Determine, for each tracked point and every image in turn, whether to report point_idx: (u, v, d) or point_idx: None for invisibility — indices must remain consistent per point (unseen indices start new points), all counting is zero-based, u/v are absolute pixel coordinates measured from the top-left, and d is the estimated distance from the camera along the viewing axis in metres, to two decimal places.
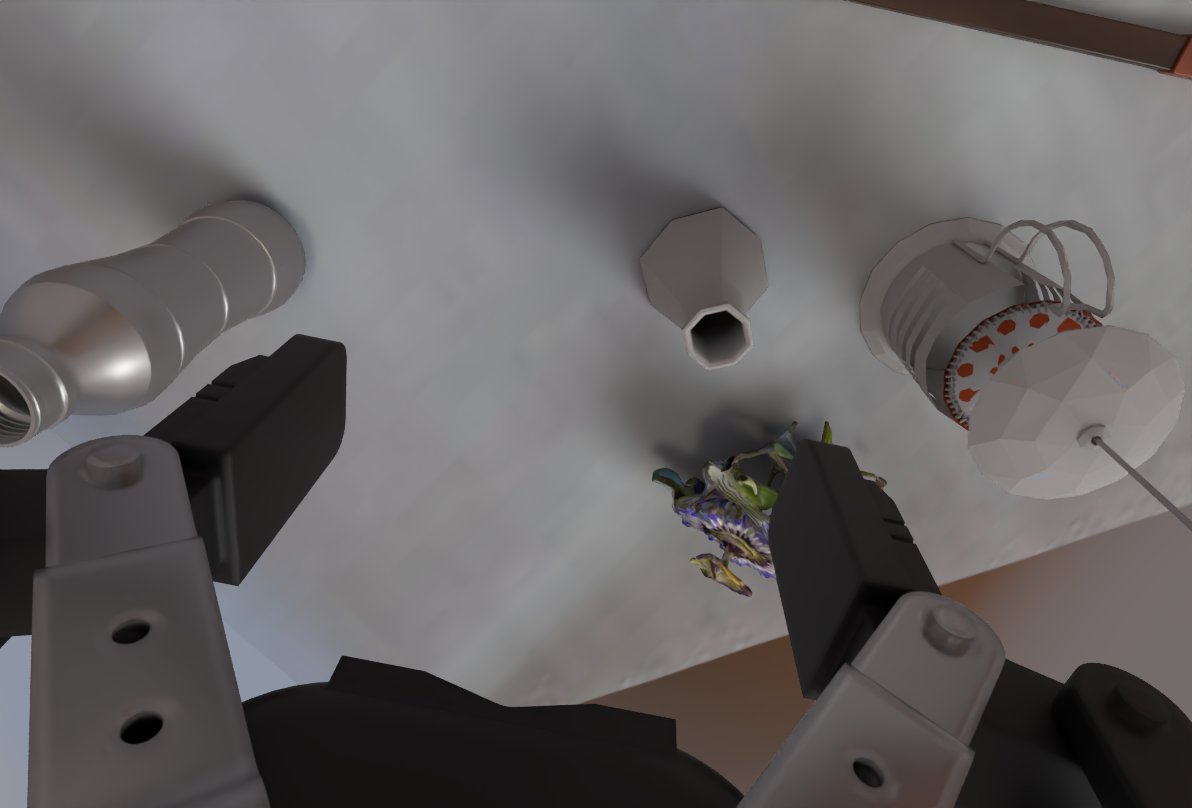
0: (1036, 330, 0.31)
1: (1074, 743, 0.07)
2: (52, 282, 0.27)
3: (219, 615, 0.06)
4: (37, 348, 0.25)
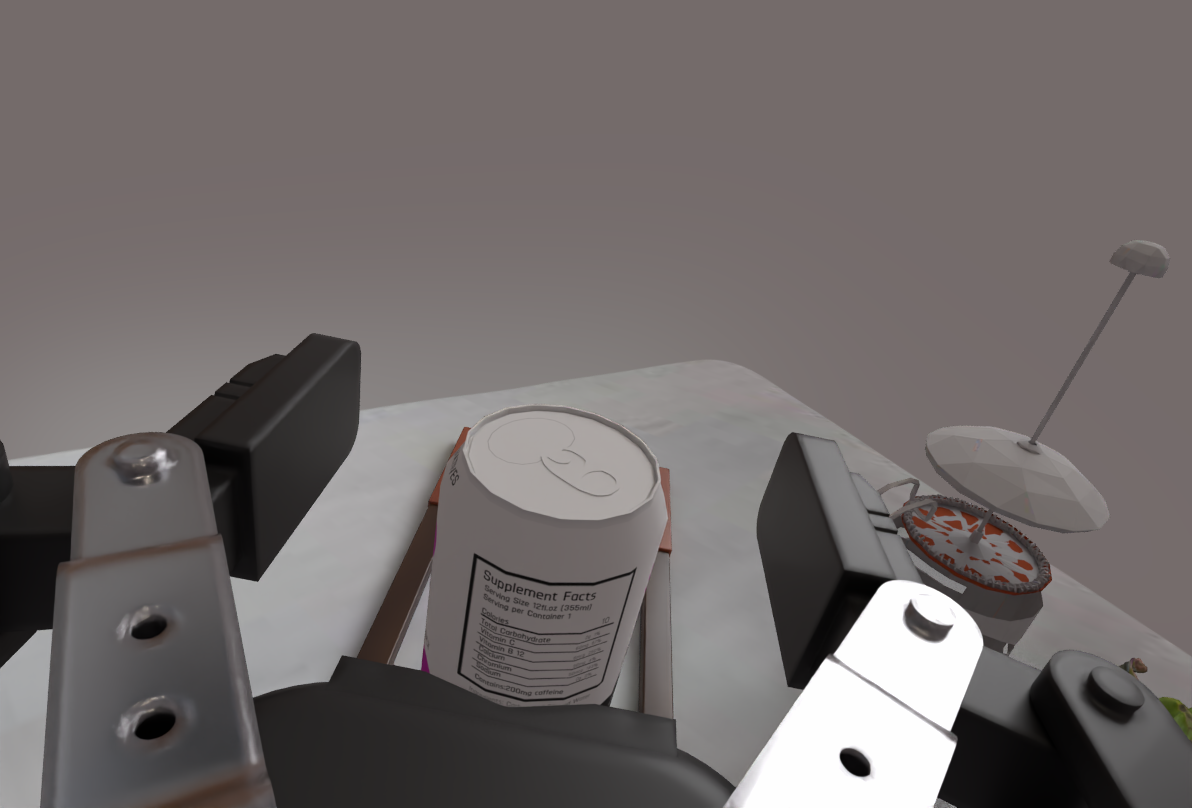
0: (934, 540, 0.34)
1: (1049, 729, 0.08)
2: None
3: (234, 613, 0.06)
4: None
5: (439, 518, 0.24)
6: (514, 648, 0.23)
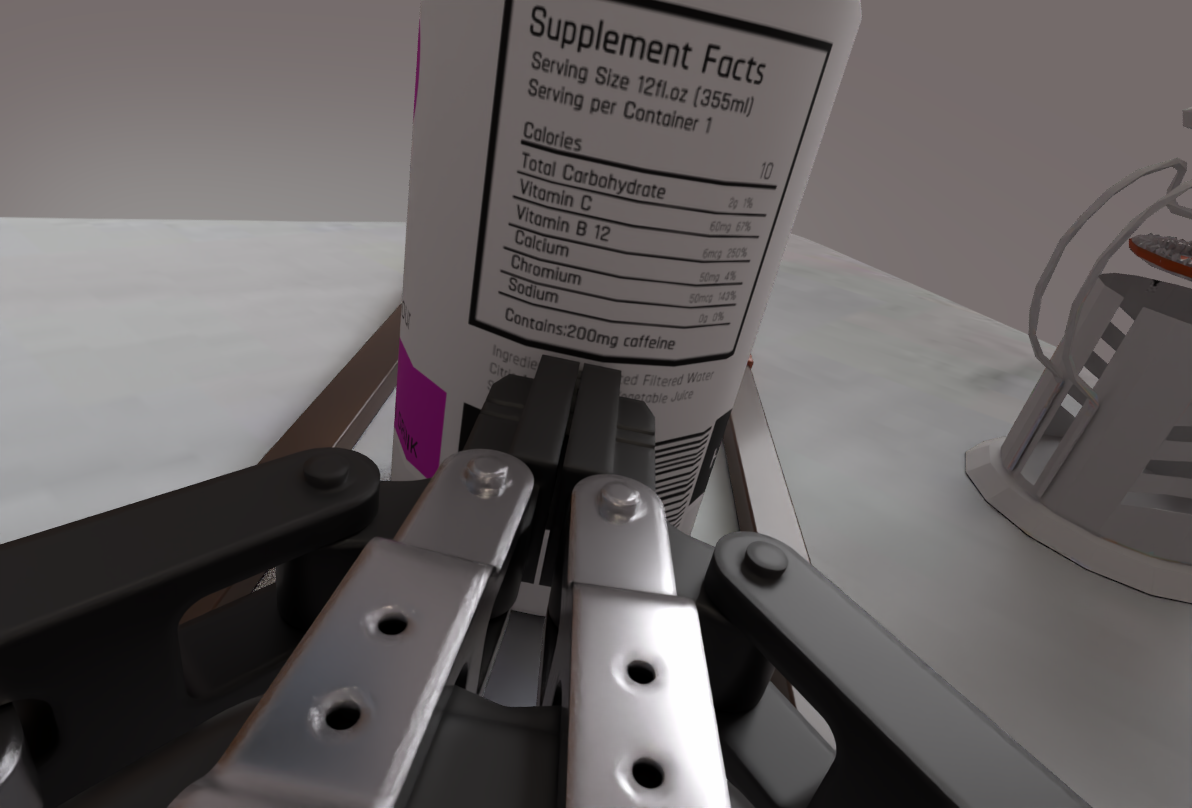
0: None
1: (713, 596, 0.08)
2: None
3: (457, 647, 0.06)
4: None
5: None
6: (591, 220, 0.12)
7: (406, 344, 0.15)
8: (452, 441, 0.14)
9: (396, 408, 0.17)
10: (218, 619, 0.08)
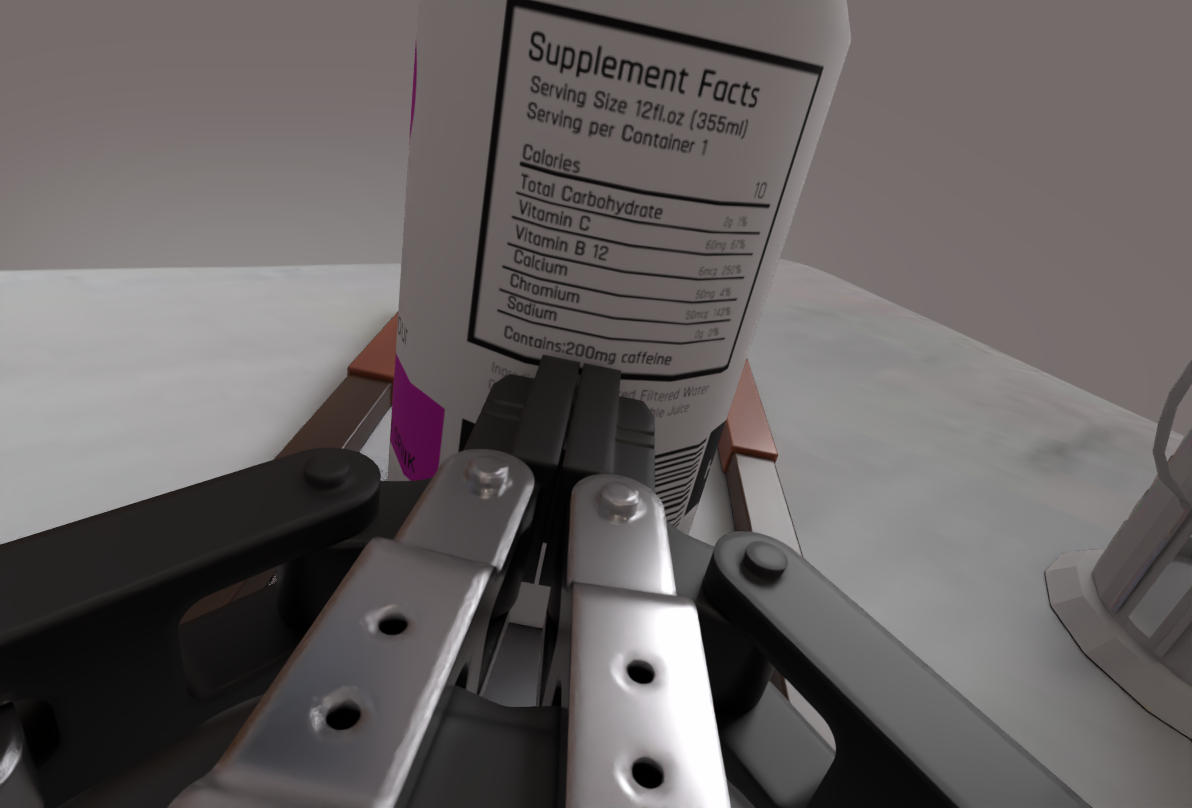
0: None
1: (712, 596, 0.08)
2: None
3: (457, 647, 0.06)
4: None
5: (422, 17, 0.12)
6: (589, 240, 0.12)
7: (403, 360, 0.15)
8: None
9: (392, 423, 0.17)
10: (219, 619, 0.08)
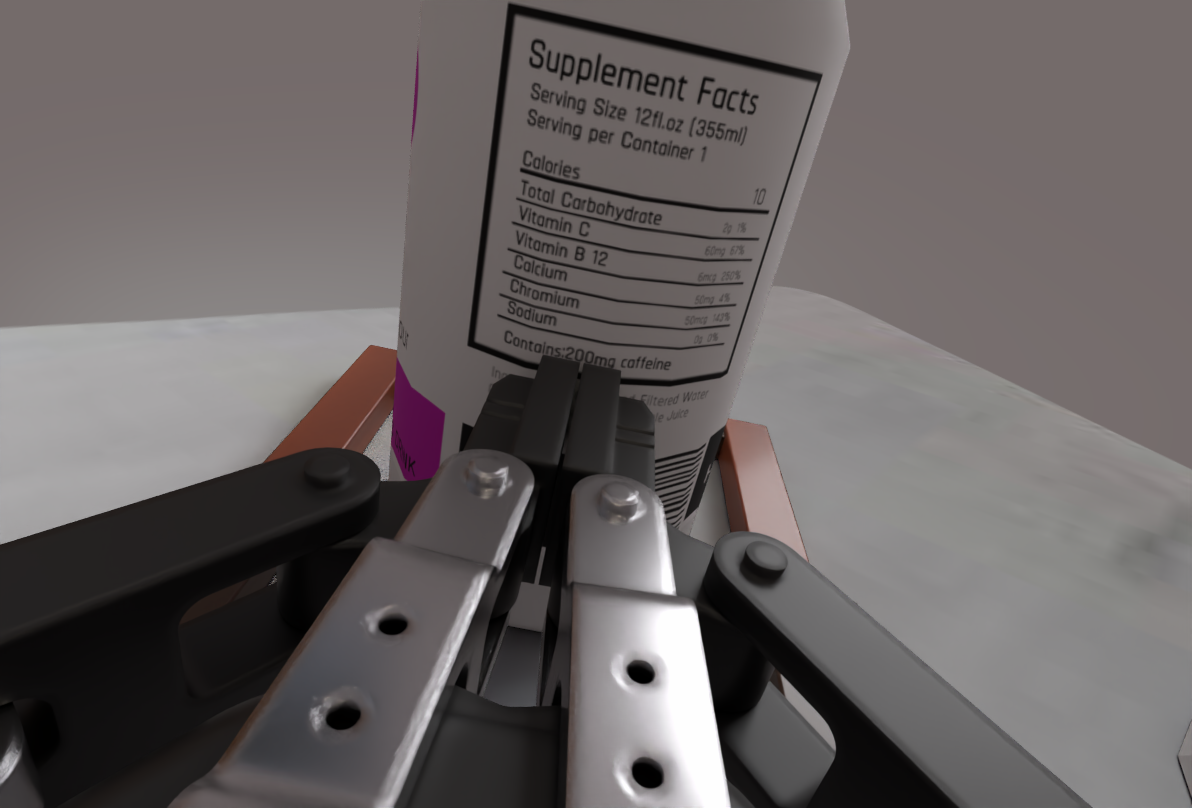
0: None
1: (711, 597, 0.08)
2: None
3: (458, 647, 0.06)
4: None
5: (424, 24, 0.12)
6: (589, 245, 0.12)
7: (404, 364, 0.15)
8: None
9: (393, 426, 0.17)
10: (219, 619, 0.08)
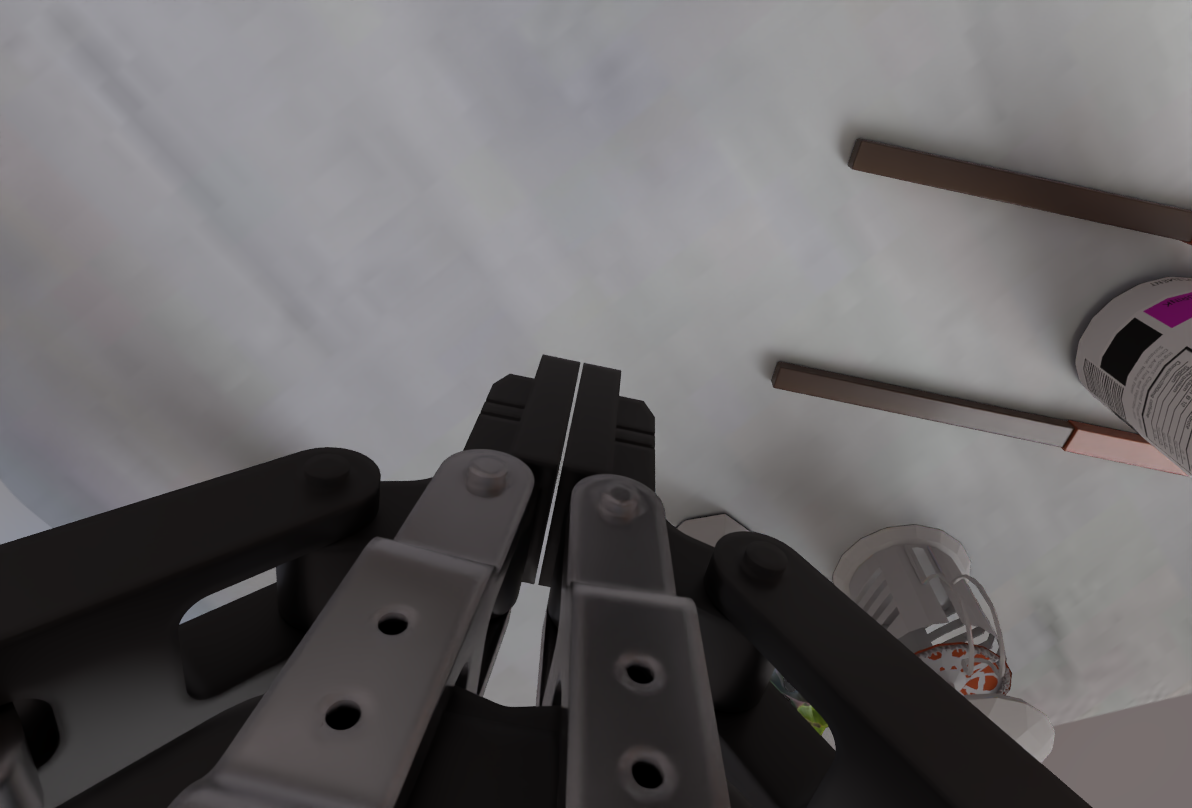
0: (957, 658, 0.42)
1: (712, 596, 0.08)
2: None
3: (458, 647, 0.06)
4: None
5: None
6: (1189, 401, 0.33)
7: None
8: (1153, 324, 0.36)
9: None
10: (218, 619, 0.08)
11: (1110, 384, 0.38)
